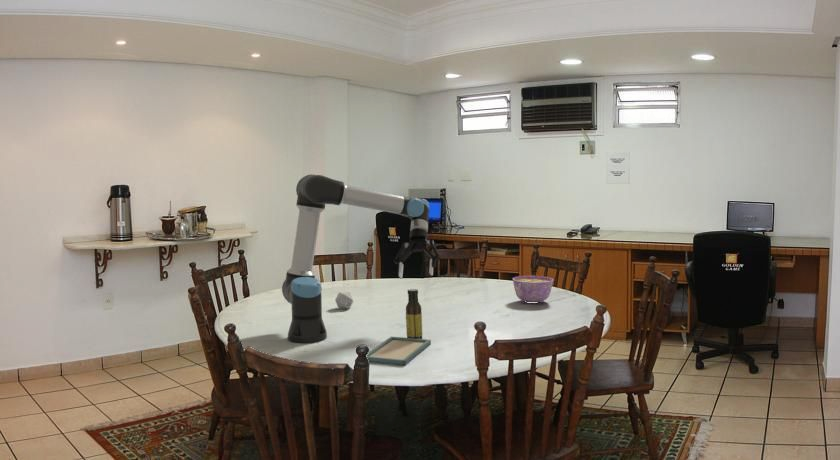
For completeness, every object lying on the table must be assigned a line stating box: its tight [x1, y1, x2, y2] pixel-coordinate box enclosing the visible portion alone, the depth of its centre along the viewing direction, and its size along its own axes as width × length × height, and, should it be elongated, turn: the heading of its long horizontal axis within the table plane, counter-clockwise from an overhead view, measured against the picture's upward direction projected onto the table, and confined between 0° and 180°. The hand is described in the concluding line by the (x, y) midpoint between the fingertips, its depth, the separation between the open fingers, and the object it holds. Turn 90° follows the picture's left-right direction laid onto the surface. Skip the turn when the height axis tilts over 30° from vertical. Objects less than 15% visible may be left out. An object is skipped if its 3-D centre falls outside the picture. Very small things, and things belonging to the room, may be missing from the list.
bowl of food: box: [512, 275, 554, 303], centre depth 320 cm, size 20×20×12 cm
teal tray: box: [367, 336, 432, 367], centre depth 234 cm, size 28×16×2 cm, turn 161°
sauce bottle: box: [405, 288, 424, 339], centre depth 250 cm, size 6×6×20 cm
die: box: [334, 291, 354, 310], centre depth 308 cm, size 8×9×10 cm
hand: (415, 275), depth 269 cm, fingers open, 13 cm apart
